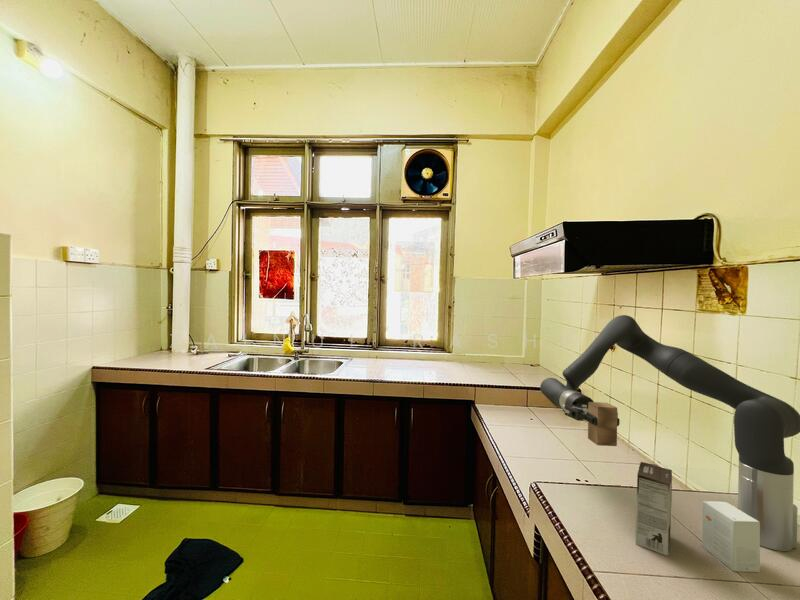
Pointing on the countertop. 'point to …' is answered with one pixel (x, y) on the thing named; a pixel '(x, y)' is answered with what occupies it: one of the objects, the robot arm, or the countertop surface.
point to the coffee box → (654, 507)
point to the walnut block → (603, 424)
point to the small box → (731, 536)
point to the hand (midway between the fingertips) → (606, 422)
